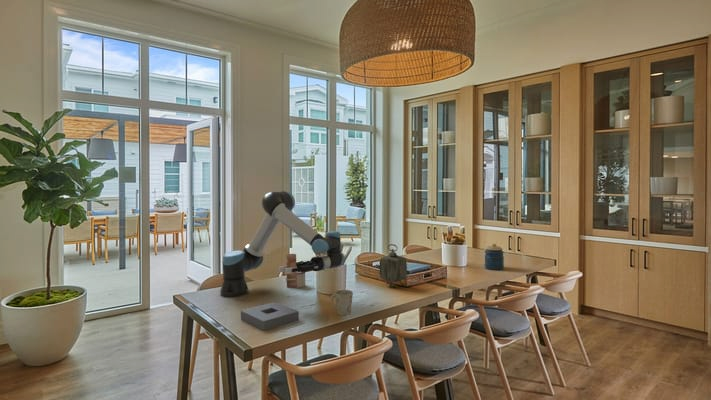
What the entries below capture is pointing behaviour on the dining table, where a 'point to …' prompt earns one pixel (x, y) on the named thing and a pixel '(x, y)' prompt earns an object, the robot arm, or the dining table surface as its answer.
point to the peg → (292, 276)
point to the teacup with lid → (300, 279)
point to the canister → (494, 258)
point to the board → (269, 315)
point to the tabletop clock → (393, 267)
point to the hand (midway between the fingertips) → (282, 270)
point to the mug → (343, 301)
